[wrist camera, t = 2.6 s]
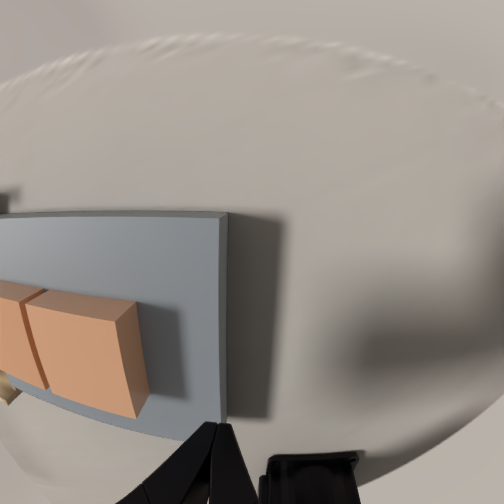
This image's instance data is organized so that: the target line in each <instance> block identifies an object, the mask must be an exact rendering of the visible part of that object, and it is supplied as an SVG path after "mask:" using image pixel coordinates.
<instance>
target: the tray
mask: <svg viewBox="0 0 504 504" xmlns="http://www.w3.org/2000/svg"><path fill="white" fill-rule="evenodd" d="M22 392H23V391H22V390H20V389H18V388H16V387H14V386H12V385H11V383H10V381H9V379H8V376H7V374H6V372H4V371H2V370H0V401H2V402H3V403H5V404H7V405H9V404H10V403H11V402H12V401H13V400H14V399H15V398H16V397H17V396H18V395H19V394H21V393H22Z"/></svg>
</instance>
